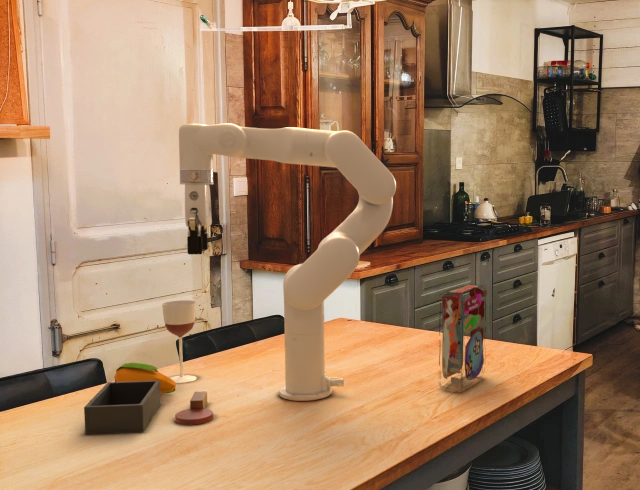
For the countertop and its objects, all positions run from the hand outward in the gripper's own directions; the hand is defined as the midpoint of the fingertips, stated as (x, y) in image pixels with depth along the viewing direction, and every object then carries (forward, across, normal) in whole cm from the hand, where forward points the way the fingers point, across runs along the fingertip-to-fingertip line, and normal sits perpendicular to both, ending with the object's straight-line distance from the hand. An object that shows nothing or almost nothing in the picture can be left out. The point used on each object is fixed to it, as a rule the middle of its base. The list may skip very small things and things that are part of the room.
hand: (198, 252), depth 181 cm
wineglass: (+35, +19, +7) cm, 41 cm away
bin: (+35, -13, +14) cm, 40 cm away
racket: (+35, -12, -1) cm, 37 cm away
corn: (+35, +6, +13) cm, 38 cm away
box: (+34, +8, -67) cm, 75 cm away
